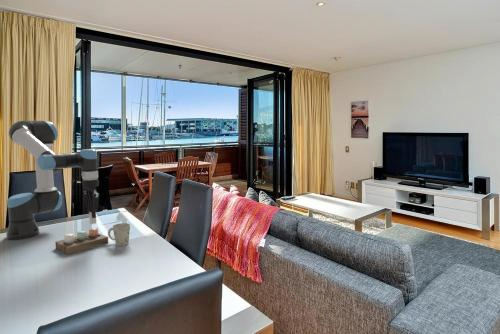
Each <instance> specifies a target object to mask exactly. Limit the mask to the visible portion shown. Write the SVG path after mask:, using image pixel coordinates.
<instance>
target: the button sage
mask: <svg viewBox="0 0 500 334" xmlns="http://www.w3.org/2000/svg"><path fill="white" fill-rule="evenodd" d="M87 234H88V233H87V230H80V231H77V232H76V236H77V241H84V240H87Z"/></svg>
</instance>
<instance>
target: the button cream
mask: <svg viewBox="0 0 500 334" xmlns="http://www.w3.org/2000/svg"><path fill="white" fill-rule="evenodd" d="M63 237H64V239H65V244H72V243H75V237H76V236H75V233H67V234H66V233H65V234H64V236H63ZM64 239H63V240H64Z"/></svg>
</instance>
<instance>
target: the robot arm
mask: <svg viewBox="0 0 500 334" xmlns="http://www.w3.org/2000/svg"><path fill="white" fill-rule="evenodd" d="M58 132H59V131H58V129H57V127H56V125H55V124H54V123H53V122H51V121H48V120H19V121H17V122H16V121H15V122H14V123H13V124H11V126H10V128H9V130H8V136H9V138H10V140H12V142H13V143H15V144H16V145H19V146H21V147H22V148H23V149H25V150H26V151H27V152H28V153H29V154H31V155H32V156H33V157H34V165H35V166H34V167H35V176H36V177H35V181H36V188H35V189H34V191H33V192H34V194H33V193H32V192H24V193H17V194H15V195H12V196H10V197H9V198H8V199H7V209H8V210H7V211H8V221H9V224H8V227H7V231H6V239H8V240H23V239H29V238H32V237H35V236H37V235H39V234H40V228H39V227H38V225H37V222H36V220H35V215H39V214H45V213H49V212H50V213H51V212H54V211H58V210H59V209H60V208H61V207H62V204H63V195H62V192H61V191H59V190H58V188H57V187H55V181H54V170H62V169H71V168H73V169H74V168H81V178H82V187H83V188H85V191H83V192H82V193H83V196H84V201H85V207H86V210H88V213H89V214H88V215H89V225H95V224H97V211H99V201H100V193H99V192H98V191H97V187H99V186H100V184H99V183H100V181H99V179H98V178H99V170H98V169H99V166H98V156H97V155H98V153H97V150H96V149H94V148H89V149H87V148H86V149H84V148H83V149H81V150H80V152H70V153H69V152H67V153H55V152H54V151H53V150H52V146H53V145H54V143H55V141H57V139H58V136H59V135H58Z"/></svg>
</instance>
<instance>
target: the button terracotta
mask: <svg viewBox="0 0 500 334" xmlns="http://www.w3.org/2000/svg"><path fill="white" fill-rule="evenodd" d="M88 233H89V238H95V237H98V233H99V228H98V227H91V228H89V229H88Z"/></svg>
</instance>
